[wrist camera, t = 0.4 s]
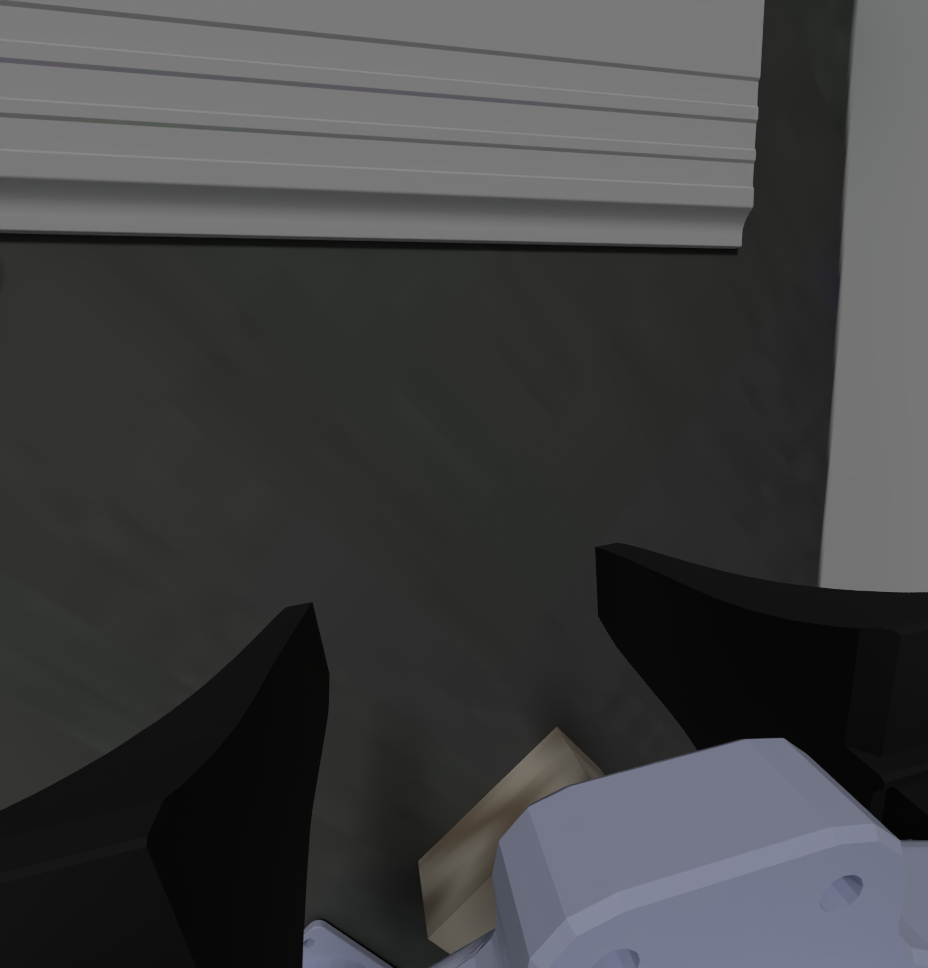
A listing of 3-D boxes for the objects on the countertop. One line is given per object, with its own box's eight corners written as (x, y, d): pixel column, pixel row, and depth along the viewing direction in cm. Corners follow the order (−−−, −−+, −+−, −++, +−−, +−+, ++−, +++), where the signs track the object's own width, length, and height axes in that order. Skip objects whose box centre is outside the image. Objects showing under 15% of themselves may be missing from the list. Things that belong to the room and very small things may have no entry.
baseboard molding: (725, 283, 24) (738, 7, 22) (772, 268, 21) (793, -51, 19) (2, 280, 18) (-73, -103, 16) (-63, 257, 15) (-165, -210, 13)
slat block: (467, 895, 26) (485, 979, 23) (417, 857, 25) (427, 938, 22) (598, 766, 27) (638, 826, 23) (555, 723, 26) (589, 779, 22)
